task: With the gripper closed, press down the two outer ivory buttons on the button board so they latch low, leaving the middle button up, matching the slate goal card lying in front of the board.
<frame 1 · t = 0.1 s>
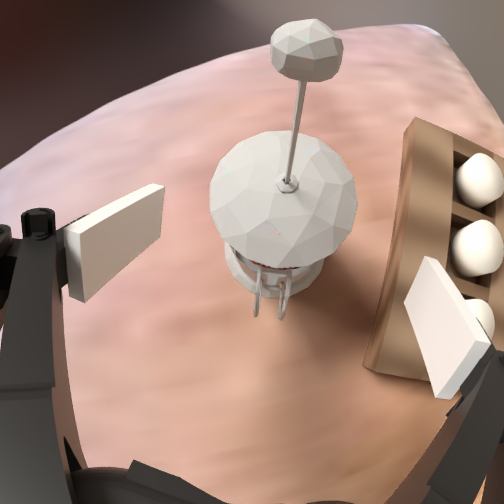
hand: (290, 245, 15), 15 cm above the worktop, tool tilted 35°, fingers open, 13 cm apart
button 3: (479, 181, 26), point 5 cm above the worktop, slide at 0.0 cm
button 1: (466, 327, 24), point 4 cm above the worktop, slide at 0.0 cm
board: (454, 257, 30), on the worktop
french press: (274, 256, 31), on the worktop
button 2: (477, 249, 25), point 4 cm above the worktop, slide at 0.0 cm
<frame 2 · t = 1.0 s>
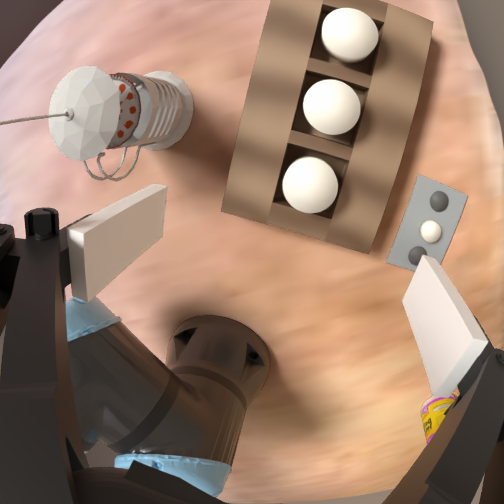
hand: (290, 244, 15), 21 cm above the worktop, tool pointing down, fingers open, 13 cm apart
button 3: (348, 36, 23), point 4 cm above the worktop, slide at 0.0 cm
button 1: (310, 183, 30), point 5 cm above the worktop, slide at 0.0 cm
board: (328, 109, 31), on the worktop
supplement bottle: (437, 403, 44), on the worktop
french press: (155, 117, 34), on the worktop
button 2: (331, 107, 26), point 5 cm above the worktop, slide at 0.0 cm
goal card: (427, 228, 33), on the worktop
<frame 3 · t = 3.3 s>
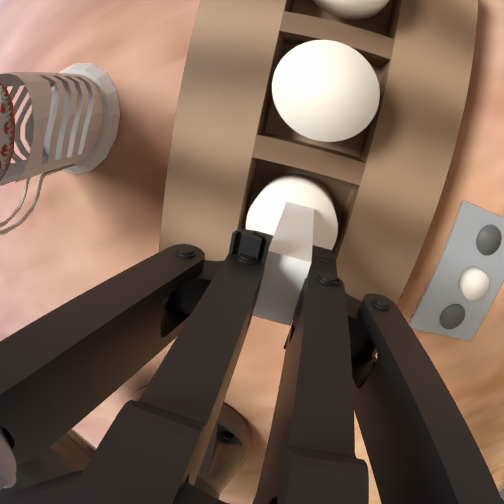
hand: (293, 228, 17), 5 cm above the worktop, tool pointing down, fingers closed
button 1: (293, 220, 19), point 3 cm above the worktop, slide at 1.3 cm, touching gripper
board: (322, 98, 18), on the worktop
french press: (75, 128, 22), on the worktop
button 2: (325, 92, 14), point 4 cm above the worktop, slide at 0.0 cm
goal card: (469, 278, 21), on the worktop
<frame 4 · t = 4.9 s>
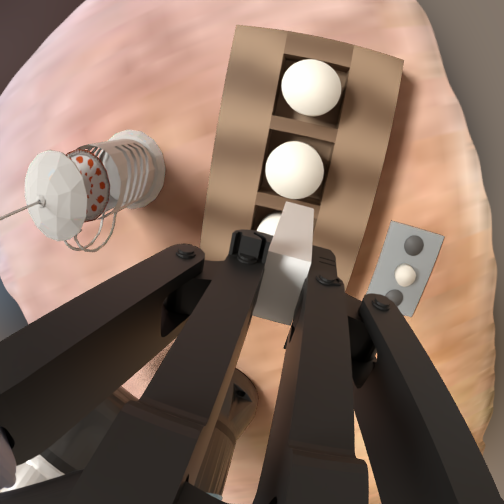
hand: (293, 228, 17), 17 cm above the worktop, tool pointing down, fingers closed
button 3: (311, 89, 25), point 5 cm above the worktop, slide at 0.0 cm
button 1: (280, 238, 33), point 3 cm above the worktop, slide at 1.6 cm
board: (296, 163, 32), on the worktop
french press: (130, 176, 36), on the worktop
button 2: (295, 168, 28), point 5 cm above the worktop, slide at 0.0 cm
goal card: (403, 271, 35), on the worktop
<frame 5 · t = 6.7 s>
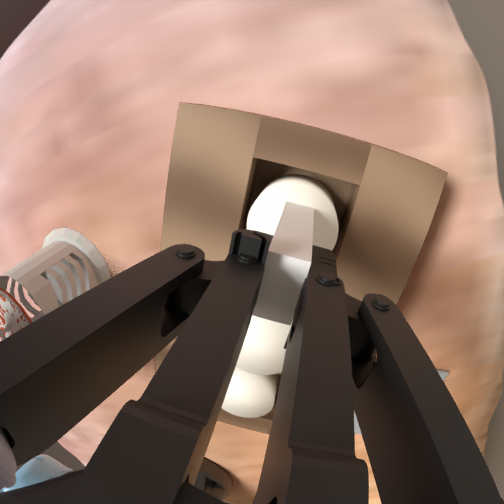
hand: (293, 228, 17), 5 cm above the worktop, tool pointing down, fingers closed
button 3: (294, 220, 19), point 3 cm above the worktop, slide at 1.2 cm, touching gripper
button 1: (246, 385, 26), point 3 cm above the worktop, slide at 1.6 cm
board: (272, 296, 25), on the worktop
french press: (77, 280, 29), on the worktop
button 2: (263, 331, 21), point 5 cm above the worktop, slide at 0.0 cm
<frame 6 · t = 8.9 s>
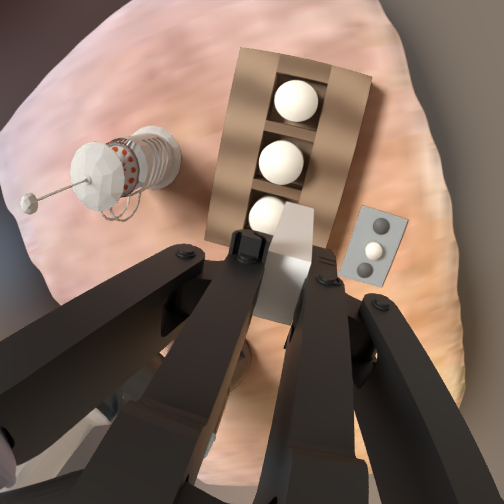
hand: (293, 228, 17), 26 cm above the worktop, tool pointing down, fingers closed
button 3: (296, 101, 35), point 3 cm above the worktop, slide at 1.6 cm
button 1: (270, 215, 42), point 3 cm above the worktop, slide at 1.6 cm
board: (285, 157, 41), on the worktop
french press: (152, 163, 45), on the worktop
button 2: (282, 161, 37), point 5 cm above the worktop, slide at 0.0 cm
goal card: (372, 247, 43), on the worktop
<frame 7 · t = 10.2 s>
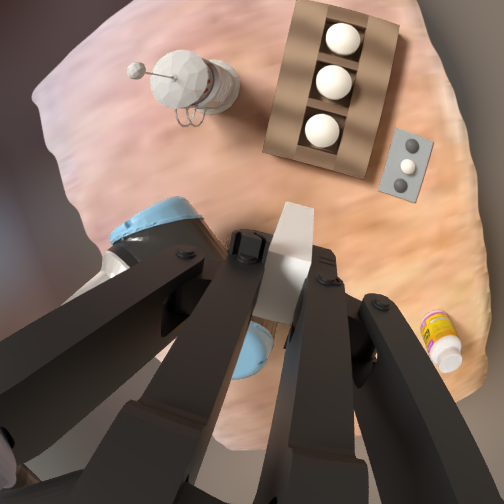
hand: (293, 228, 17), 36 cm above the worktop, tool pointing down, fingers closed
button 3: (342, 40, 39), point 3 cm above the worktop, slide at 1.6 cm
button 1: (322, 130, 45), point 3 cm above the worktop, slide at 1.6 cm
board: (331, 86, 44), on the worktop
supplement bottle: (433, 321, 57), on the worktop
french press: (211, 91, 48), on the worktop
button 2: (333, 83, 40), point 4 cm above the worktop, slide at 0.0 cm
goal card: (405, 165, 47), on the worktop
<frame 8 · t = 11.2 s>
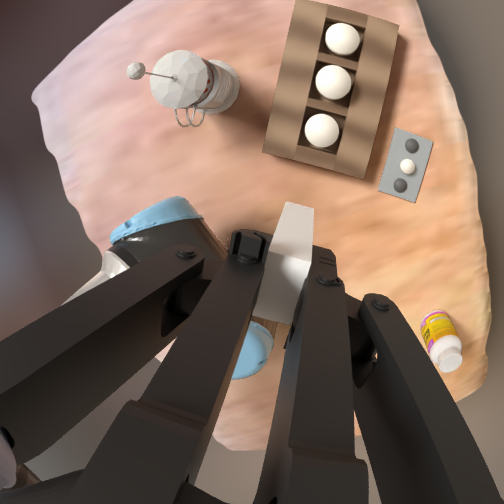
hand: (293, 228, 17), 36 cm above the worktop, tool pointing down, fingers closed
button 3: (342, 40, 39), point 3 cm above the worktop, slide at 1.6 cm
button 1: (321, 130, 45), point 3 cm above the worktop, slide at 1.6 cm
board: (331, 86, 44), on the worktop
supplement bottle: (433, 321, 57), on the worktop
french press: (211, 92, 49), on the worktop
button 2: (333, 82, 40), point 5 cm above the worktop, slide at 0.0 cm
goal card: (405, 165, 47), on the worktop
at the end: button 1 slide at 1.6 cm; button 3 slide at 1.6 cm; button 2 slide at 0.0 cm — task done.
